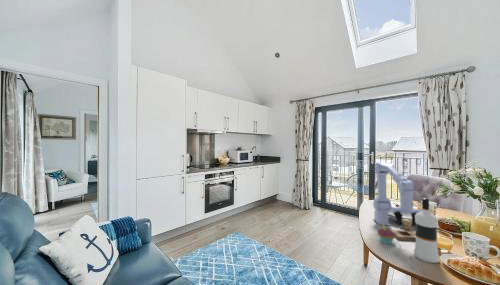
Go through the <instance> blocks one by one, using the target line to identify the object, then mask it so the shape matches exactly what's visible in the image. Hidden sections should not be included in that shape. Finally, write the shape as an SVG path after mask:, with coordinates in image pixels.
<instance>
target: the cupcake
mask: <svg viewBox="0 0 500 285" xmlns="http://www.w3.org/2000/svg"><path fill="white" fill-rule="evenodd" d="M382 226H383V228H379V229H378V230H377V235H378V236H379V238H380V240H381V242H382V243H384V244H387V245H391V244H392V242H393V240H394V239H396V237H395V234H394V233H393V232H392V231H391V230H392V229H387V228H386V227H385V226H386V225H384V222H383V225H382Z"/></svg>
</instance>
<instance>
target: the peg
mask: <svg viewBox="0 0 500 285" xmlns="http://www.w3.org/2000/svg"><path fill="white" fill-rule="evenodd" d="M402 228H403V231H412V224H411V221H410V220H407V219H403V223H402Z"/></svg>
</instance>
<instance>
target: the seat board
mask: <svg viewBox="0 0 500 285" xmlns="http://www.w3.org/2000/svg"><path fill="white" fill-rule="evenodd" d="M390 230H391V231H392V232H393V233H394V234H395V239H397V240H398V241H409V242H416V237H415V235H416V230H410V231H404V230H399V229H390Z"/></svg>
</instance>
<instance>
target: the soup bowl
mask: <svg viewBox="0 0 500 285" xmlns="http://www.w3.org/2000/svg"><path fill="white" fill-rule="evenodd" d="M392 208H400V207H398V206H397V207H396V206H392ZM392 208H391V210H390V212H388V215H389V219H391V220H393V221H395V222H397V219H396V217H395V215H394V213H393V212H392ZM401 214H402V220H401V222H402V224H403V219H407V220H410V221H411V225H413V224H412V215H411V213H401Z"/></svg>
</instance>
